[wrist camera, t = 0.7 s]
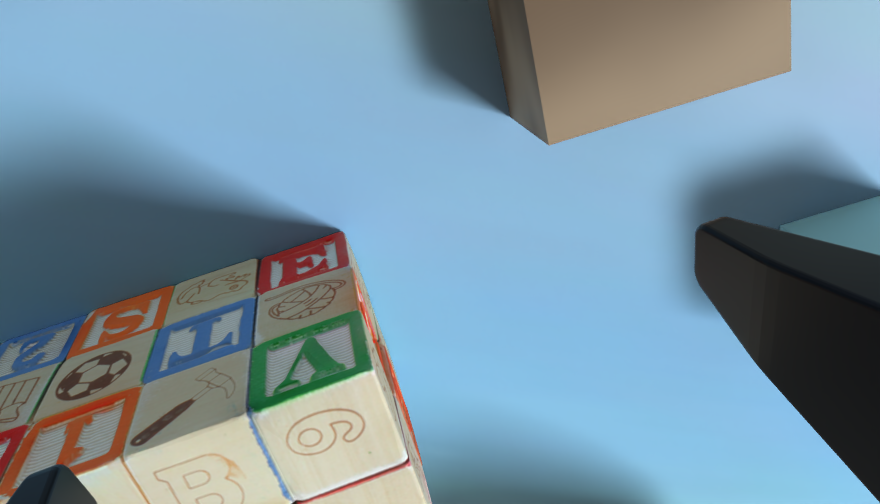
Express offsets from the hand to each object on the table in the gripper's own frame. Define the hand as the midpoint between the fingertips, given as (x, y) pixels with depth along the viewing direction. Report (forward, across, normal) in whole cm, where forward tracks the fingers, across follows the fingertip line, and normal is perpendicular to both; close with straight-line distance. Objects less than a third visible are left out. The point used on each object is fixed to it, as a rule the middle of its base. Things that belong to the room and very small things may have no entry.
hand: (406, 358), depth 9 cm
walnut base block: (+15, -11, 0) cm, 18 cm away
